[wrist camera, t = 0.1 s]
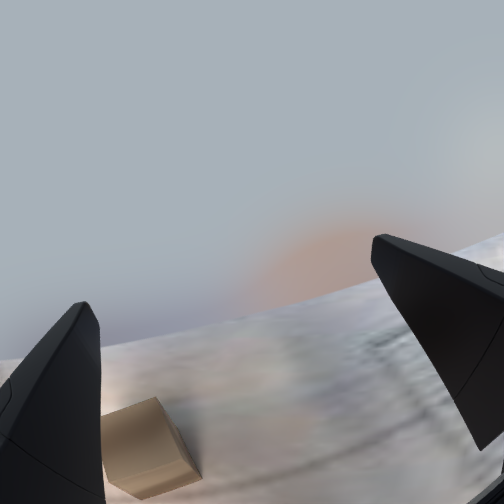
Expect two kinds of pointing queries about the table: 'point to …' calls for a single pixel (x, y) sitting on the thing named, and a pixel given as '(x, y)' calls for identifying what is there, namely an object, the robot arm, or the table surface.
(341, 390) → the table surface
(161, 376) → the table surface
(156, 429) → the walnut block
